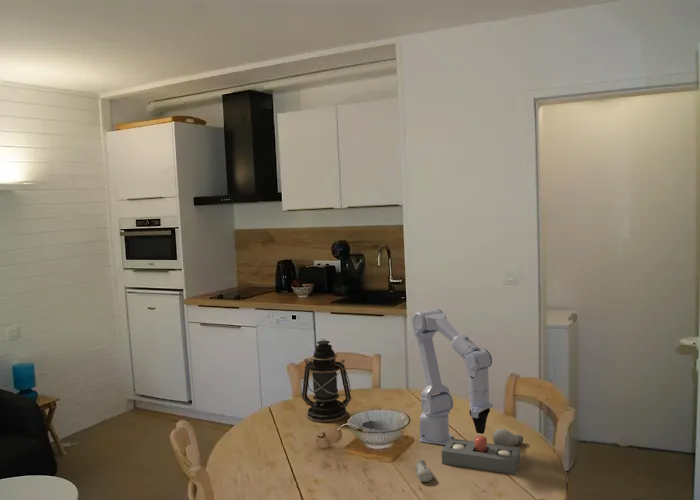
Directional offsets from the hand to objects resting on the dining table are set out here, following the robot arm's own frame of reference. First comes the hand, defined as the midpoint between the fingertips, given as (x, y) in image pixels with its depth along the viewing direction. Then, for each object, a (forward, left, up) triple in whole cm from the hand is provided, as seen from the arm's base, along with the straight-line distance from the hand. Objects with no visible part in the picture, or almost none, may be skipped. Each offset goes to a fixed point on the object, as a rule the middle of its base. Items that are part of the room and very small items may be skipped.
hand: (480, 432), depth 176 cm
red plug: (0, 0, -5) cm, 5 cm away
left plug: (-7, 0, -9) cm, 11 cm away
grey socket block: (0, 0, -9) cm, 9 cm away
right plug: (+7, 0, -9) cm, 11 cm away
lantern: (-64, +21, -10) cm, 68 cm away
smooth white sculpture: (-13, -15, -10) cm, 22 cm away
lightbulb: (+10, +18, -8) cm, 22 cm away
